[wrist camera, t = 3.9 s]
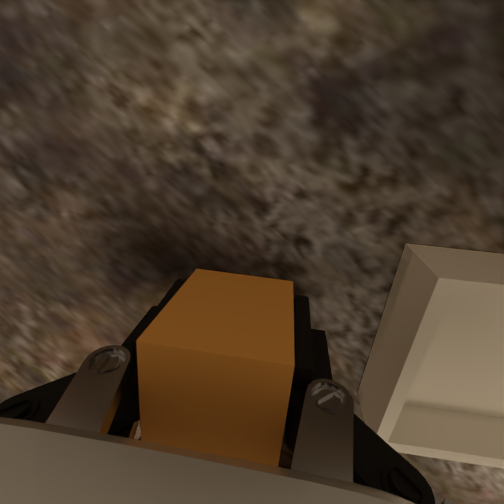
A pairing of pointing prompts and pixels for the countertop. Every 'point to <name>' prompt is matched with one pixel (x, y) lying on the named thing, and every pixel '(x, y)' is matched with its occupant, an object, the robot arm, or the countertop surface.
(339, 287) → the countertop surface
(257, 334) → the block
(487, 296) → the tray
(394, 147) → the countertop surface
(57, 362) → the countertop surface
